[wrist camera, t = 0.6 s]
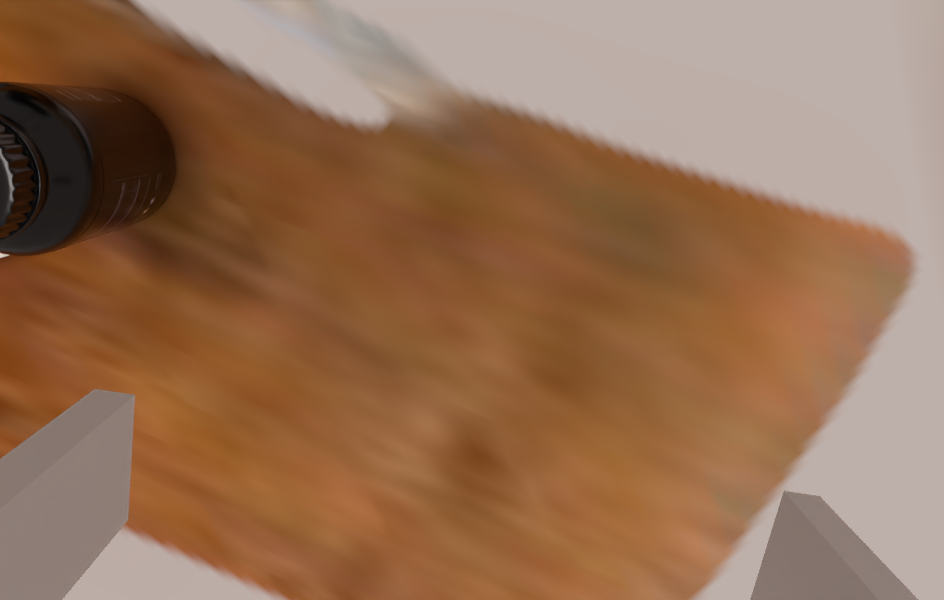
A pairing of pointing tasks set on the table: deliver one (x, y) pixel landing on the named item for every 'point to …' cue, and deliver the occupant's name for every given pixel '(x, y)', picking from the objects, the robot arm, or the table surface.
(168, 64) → the table surface
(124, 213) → the supplement bottle
